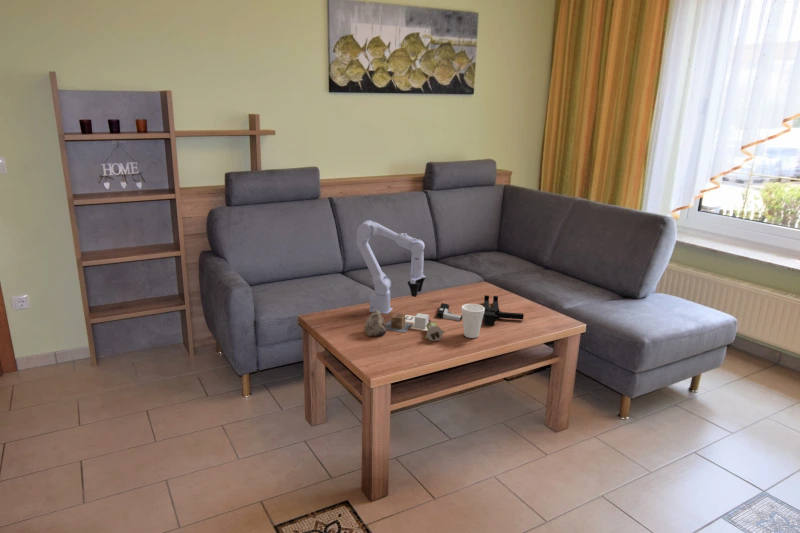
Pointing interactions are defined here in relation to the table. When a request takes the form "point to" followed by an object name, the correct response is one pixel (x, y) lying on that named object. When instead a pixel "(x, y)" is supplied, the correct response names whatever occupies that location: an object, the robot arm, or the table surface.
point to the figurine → (434, 331)
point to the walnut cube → (398, 321)
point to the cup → (472, 319)
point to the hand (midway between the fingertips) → (416, 293)
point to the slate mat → (404, 329)
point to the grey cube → (421, 321)
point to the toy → (497, 312)
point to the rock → (375, 324)
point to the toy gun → (447, 313)
